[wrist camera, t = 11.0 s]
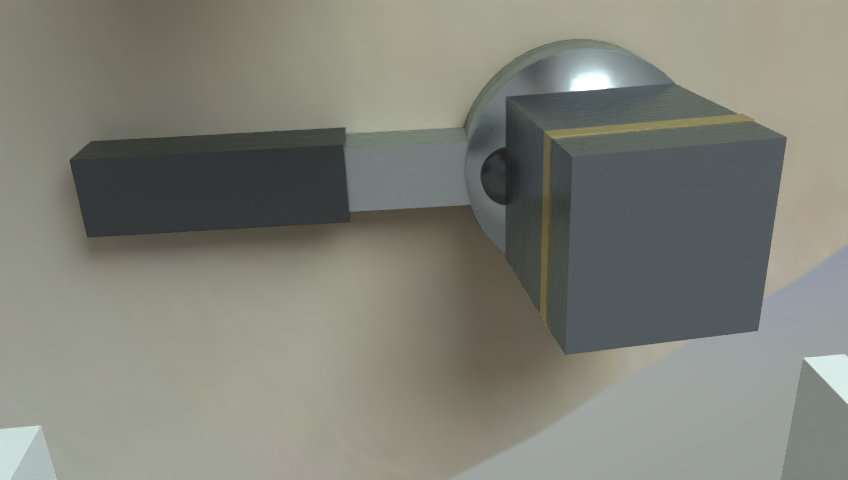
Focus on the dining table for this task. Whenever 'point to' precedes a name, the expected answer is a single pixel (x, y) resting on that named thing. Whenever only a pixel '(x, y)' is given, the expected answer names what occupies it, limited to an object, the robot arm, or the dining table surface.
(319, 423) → the dining table surface
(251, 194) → the ratchet
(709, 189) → the gold-striped grey cube
